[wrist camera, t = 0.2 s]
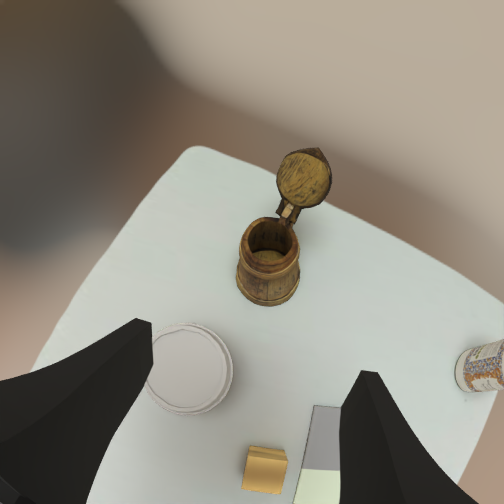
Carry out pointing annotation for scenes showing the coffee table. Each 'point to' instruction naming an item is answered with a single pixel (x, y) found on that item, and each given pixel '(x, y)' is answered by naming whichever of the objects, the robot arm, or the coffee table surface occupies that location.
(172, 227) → the coffee table surface
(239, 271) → the wooden mug
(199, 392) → the disposable coffee cup
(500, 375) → the bath foam
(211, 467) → the coffee table surface
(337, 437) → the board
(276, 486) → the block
